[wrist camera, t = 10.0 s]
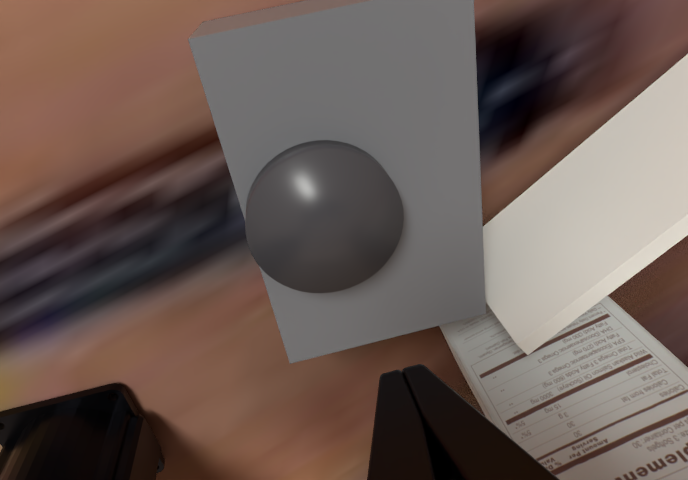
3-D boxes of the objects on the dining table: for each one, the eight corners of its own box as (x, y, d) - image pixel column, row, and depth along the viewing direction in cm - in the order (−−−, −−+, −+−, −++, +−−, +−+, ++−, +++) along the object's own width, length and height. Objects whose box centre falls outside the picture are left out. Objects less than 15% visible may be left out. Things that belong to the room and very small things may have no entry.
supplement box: (588, 341, 29) (796, 567, 18) (473, 396, 29) (606, 648, 18) (561, 246, 25) (801, 458, 14) (430, 311, 26) (565, 563, 15)
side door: (451, 253, 24) (516, 344, 18) (740, 9, 20) (935, 25, 15) (467, 269, 24) (535, 362, 19) (750, 35, 21) (941, 60, 15)
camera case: (282, 291, 24) (292, 382, 18) (202, 22, 18) (183, 44, 12) (443, 251, 24) (496, 329, 19) (418, -24, 18) (487, -21, 13)
